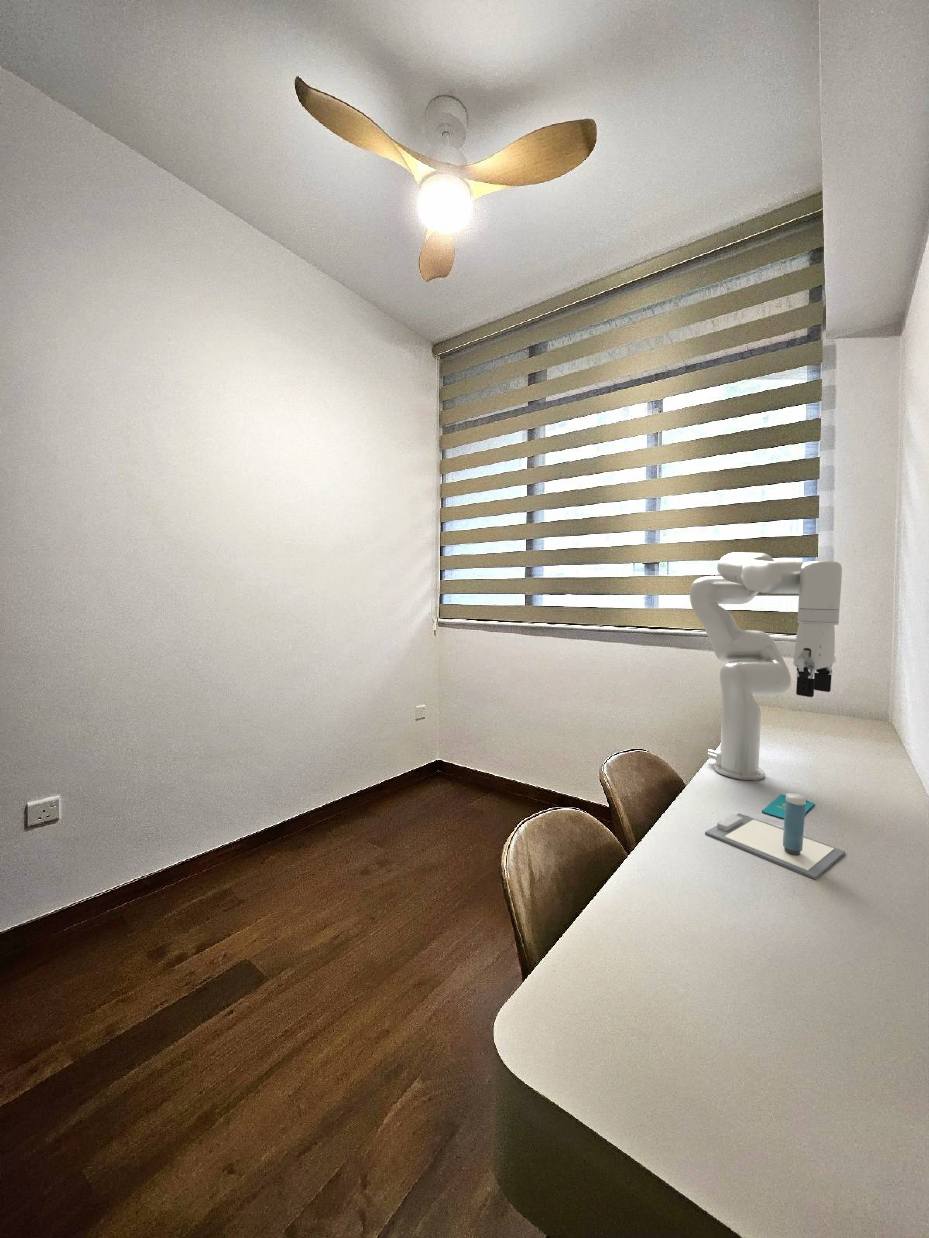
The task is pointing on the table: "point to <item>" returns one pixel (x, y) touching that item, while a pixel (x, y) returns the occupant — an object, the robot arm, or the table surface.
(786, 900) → the table surface
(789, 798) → the bottle
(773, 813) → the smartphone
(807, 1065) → the table surface
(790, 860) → the clipboard
